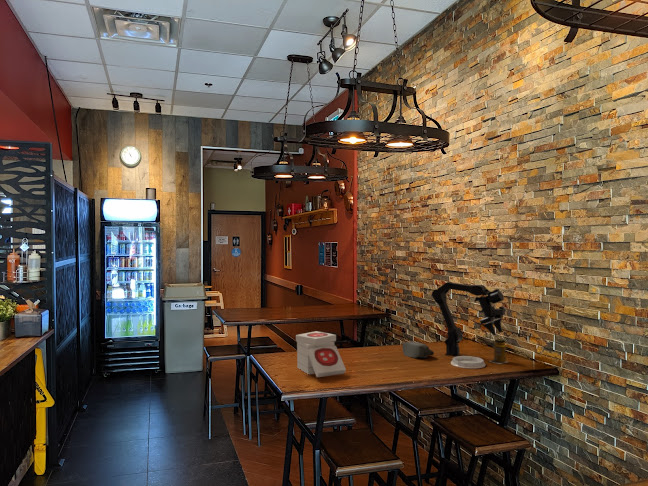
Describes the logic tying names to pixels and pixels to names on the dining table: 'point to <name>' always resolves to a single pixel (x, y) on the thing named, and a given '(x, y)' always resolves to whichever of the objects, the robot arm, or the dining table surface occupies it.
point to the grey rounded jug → (416, 350)
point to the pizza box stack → (318, 354)
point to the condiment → (499, 352)
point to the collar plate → (468, 362)
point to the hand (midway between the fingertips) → (497, 333)
